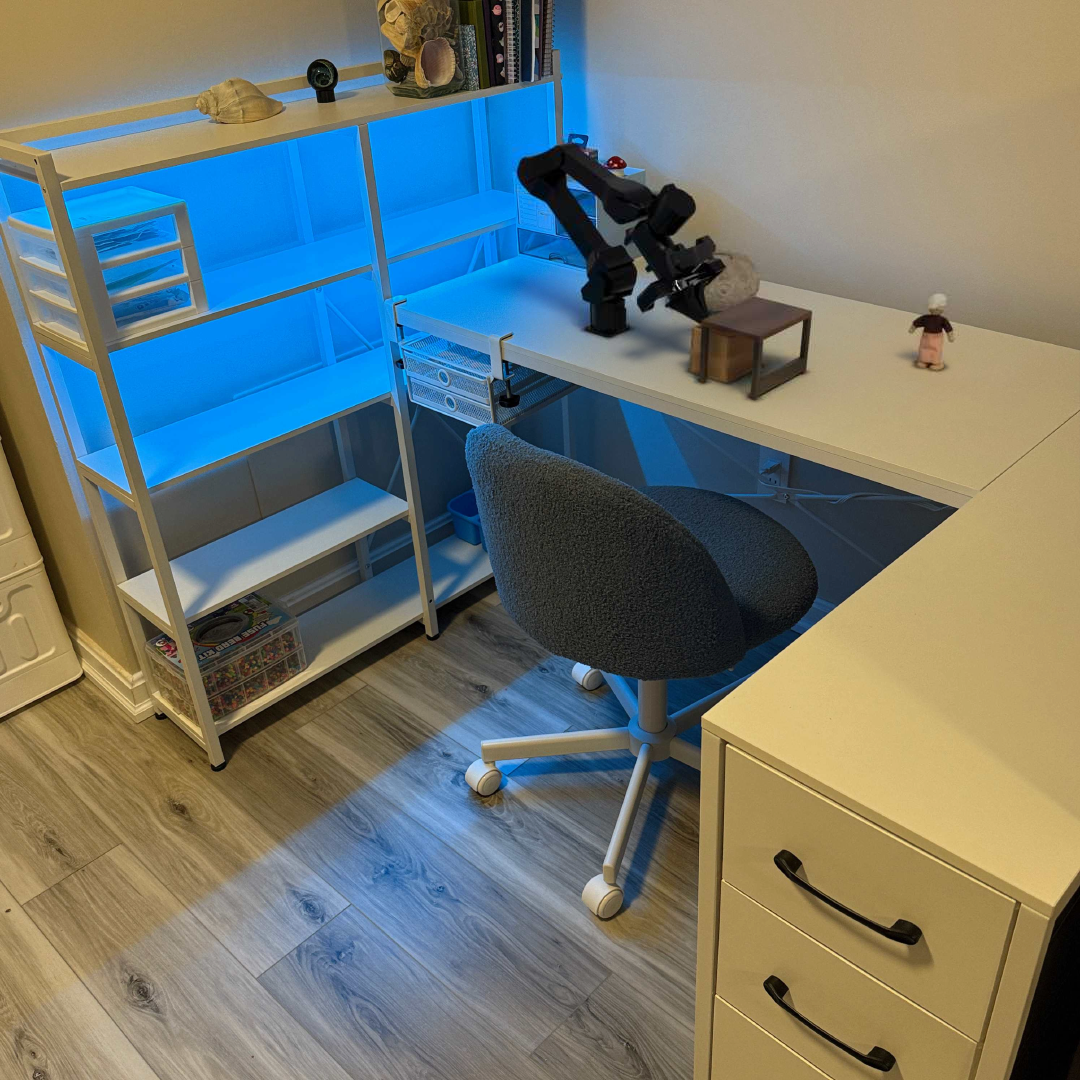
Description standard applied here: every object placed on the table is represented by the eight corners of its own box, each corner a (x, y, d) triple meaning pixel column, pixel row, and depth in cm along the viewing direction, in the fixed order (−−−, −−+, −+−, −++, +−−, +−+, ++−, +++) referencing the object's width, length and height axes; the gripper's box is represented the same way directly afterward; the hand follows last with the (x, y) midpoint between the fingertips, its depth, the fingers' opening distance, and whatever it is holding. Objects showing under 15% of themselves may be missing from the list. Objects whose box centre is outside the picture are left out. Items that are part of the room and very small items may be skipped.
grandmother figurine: (951, 364, 180) (964, 292, 173) (948, 372, 177) (961, 300, 170) (904, 358, 183) (915, 288, 176) (901, 366, 180) (912, 295, 173)
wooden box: (689, 371, 182) (691, 327, 177) (724, 354, 188) (726, 311, 183) (727, 383, 177) (729, 338, 173) (761, 365, 183) (765, 322, 178)
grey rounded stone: (653, 310, 208) (654, 261, 203) (691, 284, 220) (693, 237, 215) (737, 325, 200) (741, 273, 194) (771, 296, 212) (775, 247, 207)
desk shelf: (698, 382, 178) (701, 320, 172) (750, 355, 187) (755, 296, 181) (754, 400, 171) (759, 336, 165) (806, 372, 180) (812, 310, 174)
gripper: (650, 235, 170) (702, 315, 169) (719, 211, 181) (769, 285, 180) (614, 274, 179) (663, 349, 178) (682, 248, 190) (729, 319, 189)
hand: (707, 325), depth 181 cm, fingers closed, pressing on wooden box
